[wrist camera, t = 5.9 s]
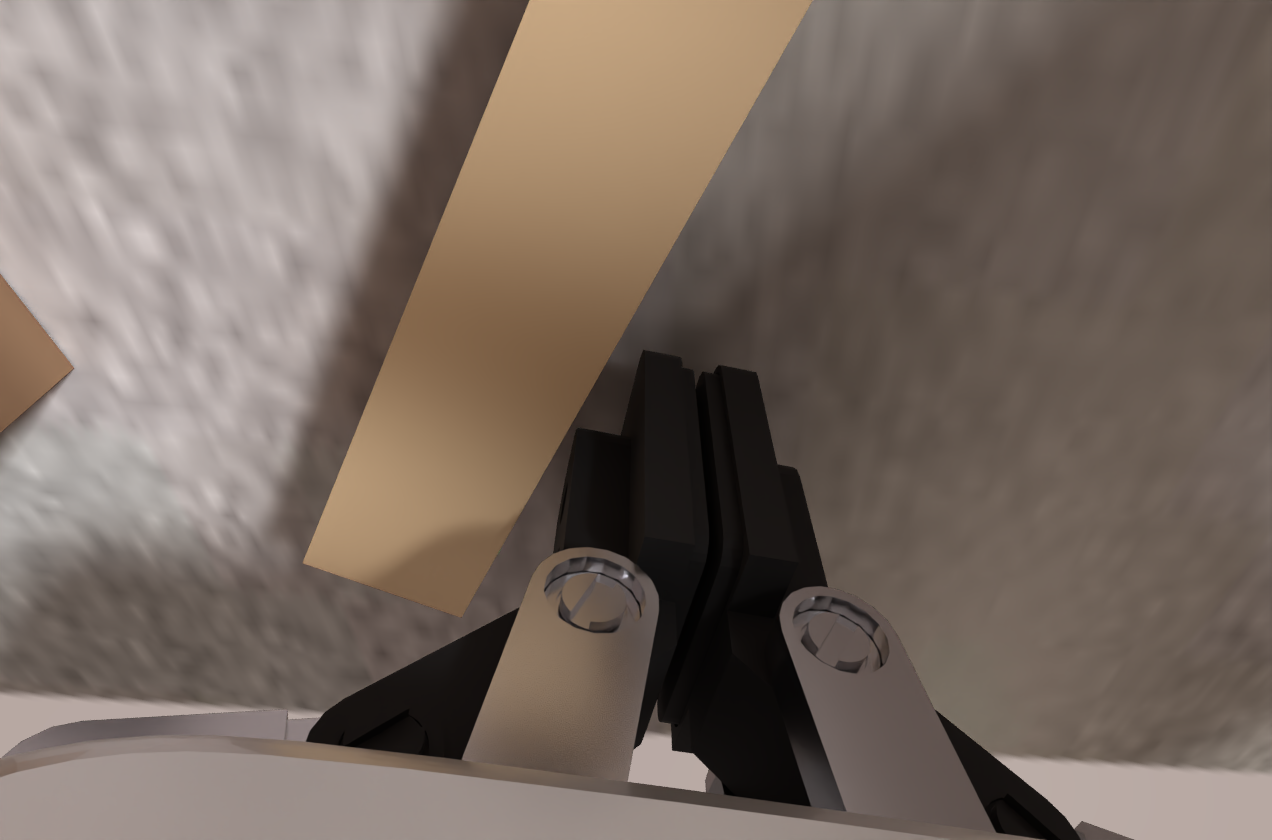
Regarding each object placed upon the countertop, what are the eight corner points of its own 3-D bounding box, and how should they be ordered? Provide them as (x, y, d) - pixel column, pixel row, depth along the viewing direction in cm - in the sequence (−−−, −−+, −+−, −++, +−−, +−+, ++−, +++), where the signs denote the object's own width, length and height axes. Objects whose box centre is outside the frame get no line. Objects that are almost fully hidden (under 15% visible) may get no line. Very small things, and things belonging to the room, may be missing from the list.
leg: (759, -702, 7) (816, -960, 5) (1058, -444, 8) (1222, -570, 5) (324, 440, 13) (264, 549, 11) (516, 514, 14) (495, 630, 12)
